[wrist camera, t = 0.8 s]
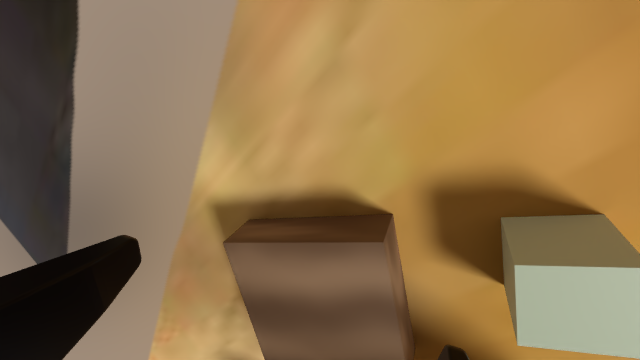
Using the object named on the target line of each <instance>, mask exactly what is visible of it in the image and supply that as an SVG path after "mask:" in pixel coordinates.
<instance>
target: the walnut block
mask: <svg viewBox="0 0 640 360" xmlns="http://www.w3.org/2000/svg"><path fill="white" fill-rule="evenodd" d="M223 244H224V247H225V250H226V253H227V256H228V258H229V261H230V264H231V267H232V270H233V272H234V275H235V278H236V281H237V283H238V286H239V289H240V292H241V295H242V297H243V300H244V303H245V306H246V308H247V311H248V314H249V317H250V320H251V322H252V325H253V328H254V331H255V334H256V336H257V339H258V342H259V345H260V347H261V350H262V353H263V356H264V359H265V360H414V353H415V345H414V339H413V333H412V327H411V321H410V315H409V309H408V302H407V296H406V290H405V284H404V278H403V272H402V266H401V260H400V254H399V248H398V242H397V236H396V230H395V224H394V218H393V214H383V215H357V216H331V217H306V218H280V219H254V220H248V221H247V222H246V223H245V224H244V225H243V226H241V227H240V228H239V229H238V230H237V231H236V232H235V233H233V234H232V235H231V236H230V237H229V238H228V239H227V240H226V241H224V242H223Z"/></svg>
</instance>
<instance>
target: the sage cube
mask: <svg viewBox="0 0 640 360" xmlns="http://www.w3.org/2000/svg"><path fill="white" fill-rule="evenodd" d="M501 233H502V253H503V272H504V287H505V291H506V296H507V300H508V305H509V309H510V313H511V318H512V322H513V327H514V331H515V336H516V340H517V345H518V346H528V347H537V348H546V349H555V350H565V351H574V352H583V353H592V354H602V355H611V356H620V357H629V358H639V359H640V254H639V253H638V251H637V250H636V249H635V248H634V247H633V246H632V245H631V244H630V243H629V241H628V240H627V239H626V238H625V237H624V236H623V235H622V234H621V232H620V231H619V230H618V229H617V228H616V227H615V226H614V225H613V224H612V222H611V221H610V220H609V219H608V218H607V217H606V216H605V215H604V214H598V215H564V216H531V217H501Z"/></svg>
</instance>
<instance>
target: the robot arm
mask: <svg viewBox="0 0 640 360" xmlns="http://www.w3.org/2000/svg"><path fill="white" fill-rule="evenodd" d="M140 263H141V254H140V248H139V244H138V241H137V239H136V238H133V237H130V236H127V235H121V236H118V237H115V238H112V239H109V240H106V241H103V242H100V243H98V244H94V245H92V246H89V247H86V248H83V249H80V250H77V251H74V252H71V253H68V254H66V255H63V256H60V257H57V258H54V259H51V260H48V261H45V262H43V263H40V264H37V265H34V266H31V267H28V268H26V269H22V270H20V271H17V272H14V273H11V274H8V275H5V276H2V277H0V360H62V359H63V358H64V357H65V356H66V355H67V354H68V353H69V352H70V350H71V349H72V348H73V347H74V346H75V345H76V343H78V341H79V340H80V339H81V338H82V337H83V336H84V335H85V334H86V332H87V331H88V330H89V329H90V328H91V327H92V326H93V324H94V323H95V322H96V321H97V320H98V319H99V318H100V317H101V315H102V314H103V313H104V312H105V311H106V309H107V308H108V307H109V306H110V304H111V303H112V302H113V300H114V299H115V298H116V296H117V295H118V294H119V292H120V291H121V290H122V288H123V287H124V286H125V284H126V283H127V282H128V280H129V279H130V278H131V276H132V275H133V274H134V272H135V271H136V270H137V268H138V267H139V265H140ZM438 360H469V358H468V356H467V354H466V353H465V351H464V350H462V349H460V348H457V347H454V346H451V345H446V346H445V347H444V349H443V351H442V352H441V354H440V356H439V358H438Z"/></svg>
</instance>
